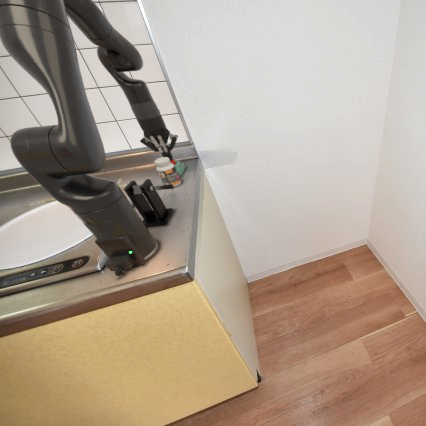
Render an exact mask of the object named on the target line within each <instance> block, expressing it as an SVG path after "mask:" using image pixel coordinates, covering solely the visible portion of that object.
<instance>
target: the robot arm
mask: <svg viewBox="0 0 426 426" xmlns="http://www.w3.org/2000/svg"><path fill="white" fill-rule="evenodd" d="M69 20H70V21H71V22H72V23H73V24H74V25H75V26H76V28H78V30H79V31H80V32H81V33H82V34H83V35H84V36H85V37H86V39H87V40H88V41H89V42H90V43H92V44H93V45H95V46H97V48H96V55H97V58H98V60H99V62H100V63H101V65H102V66H103V67H104V69H105V71H107V72H108V74H110V76H111V77H112V78H113V80H115V82H116V83H117V84H118V86H119V87H120V89H121V90H122V92H123V94H124V95H125V98H126V100H127V101H128V104H129V105H130V109H131V111H132V113H133V115H134V117H135V119H136V121H137V124H138V125H139V127H140V129H141V130H142V132H143V137H142V138H141V139H140V140H139V142H140V143H141V144H142V145H144V146H146V147H147V148H148V149H150V150H151V151H153V152H155V153H160V154H161V157H168V158H169V159H170V161H172V159H174V156H173V154H172V152H171V151H173V149H174V148H175V146H176V143H177V140H178V138H179V135H177V134H173V133H171V130H169V129H168V127H167V125H166V123H165V120H164V118H163V116H162V113H161V111H160V109H159V107H158V105H157V103H156V102H155V100H154V98H153V95H152V93H151V91H150V89H149V87H148V84H147V83H146V82H145V81H144V80H142V79H137V78H132V77H129V76H128V75H127V74H126V73H128V72H129V73H130V72H138V71H141V70H142V69H143V67H144V59H143V57H142V54H141V52H140V51H139V50H138V49H137V48H136V46H135V45H134V44H133V43H132V42H130V41H129V40H128V39H127V38H126V37H125V36H124V35H122V33H120V32H119V31H118V30H117V29H116V28H115V27H114V26H113V25H112V24H111V22H110V21H109V20H108V18H107V17H106V16H105V14H104V13H103V11H102V10H101V9H100V8H99V6H98V5H97V4H96V3H95V1H93V0H0V42H1V44H2V47H3V48H4V49H5V51H6V52H7V53H8V54H9V55H10V57H11V58H12V59H13V61H15V62H16V63H17V64H18V66H20V68H22V69H23V70H24V71H25V72H26V73H27V74H28V75H29V76H30V77H31V78H32V79H33V80H35V81H36V83H38V84H39V86H41V87H42V88H43V90H44V91H45V92H46V93H47V95H48V96H49V98H50V100H51V102H52V105H53V107H54V110H55V114H56V117H57V124H52V125H50V124H49V125H41V126H30V127H24V128H20V129H18V130H17V129H16V130H15V131H14V132H13V133H12V134H11V137H10V141H9V143H10V149H11V151H12V154H13V156H14V158H15V160H17V162H18V163H19V165H20V166H21V167H22V168H23V169H24V171H26V172H27V174H28V175H30V176H31V177H32V179H34V180H35V181H36V183H38V184H39V186H41V187H42V188H43V189H44V190H45V191H46V193H48V194H49V195H50V196H51V197H52V198H53V199H54V200H55V201H57V202H58V203H60V204H62V205H64V206H65V207H67V208H69V209H70V211H72V213H73V214H74V215H75V216H76V217H77V218H78V219H79V221H80V222H81V223H82V224H83V225H84V226H85V227H86V228H87V229H88V231H89V232H90V233H91V234H92V235H93V236H94V237H95V238H96V239H95V240H94V243H95V244H96V245H97V247H98V248H99V249H100V250H101V251H102V252H103V253H104V254H105V255H106V256H107V258H108V259H107V260H106V262H105V263H104V265H105V267H107V268H108V270H109V271H110V272H114V275H115V276H116V277H121V276H123V275H124V274H125V273H124V271H123V270H131V269H132V268H133V267H135V266H142V265H145V263H146V262H147V261H148V260H150V259H151V258H152V257H153V256H154V255H155V254H156V253H157V252H158V250H159V243H158V241H157V240H156V239H155V238H154V236H153V234H152V233H151V232H150V231H149V229H148V227H146V226H145V224H144V223H143V220H142V217H140V215H139V214H138V212H137V211H136V209H135V207H133V205H132V203H131V202H130V200H129V199H128V198H127V196H126V195H125V192H124V191H123V190H122V189H121V188H120V186H119V185H118V184H117V182H115V181H114V180H112V179H108V178H104V177H103V178H102V177H98V176H94V175H91V174H94V173H99V172H100V171H102V170H103V169H104V168H105V166H106V151H105V145H104V143H103V140H102V137H101V134H100V131H99V129H98V128H99V127H98V125H97V122H96V120H95V116H94V114H93V112H92V108H91V105H90V102H89V99H88V96H87V95H88V94H87V92H86V89H85V85H84V84H85V83H84V80H83V77H82V72H81V68H80V63H79V57H78V53H77V48H76V44H75V40H74V39H75V38H74V35H73V32H72V31H73V30H72V28H71V25H70V21H69ZM169 141H170V143H169Z"/></svg>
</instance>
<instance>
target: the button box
mask: <svg viewBox="0 0 426 426" xmlns="http://www.w3.org/2000/svg"><path fill="white" fill-rule="evenodd" d="M174 160H175V159H174ZM175 162H176V164H175V165H174V166H175V168H176V170H177V172H178V175H179V177H182V175H183V174H184V172H185V170H186V166H185V163H184V162H183V163H181V161H180V160H177V159H176V160H175Z"/></svg>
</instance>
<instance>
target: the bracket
mask: <svg viewBox="0 0 426 426" xmlns="http://www.w3.org/2000/svg"><path fill="white" fill-rule="evenodd" d="M135 185H138V183H137V182H136V180H130V182H129V183H128V184H127V185H126V186H125V188H123V191H124V193H126V195H127V196H128V198H129V199H130V201H131V203H132V204H133V206H134V208H136V210H137V211H138V213H139V214H140V216H141V218H142V219H143V220H142V221H143V223H144V224H145V226H146V227H147V228H152V227H161V226H162V227H163V226H167V225H168V223H169V221H170V219H171V217H172V215H173V213H174V212H175V210H174V208H173V207H169V208H167V207H166V205H165V203H164V202H163V200H162V198H161V196H160V195H159V193H158V190H156V189H155V185H154V184H153V182H152V180H151V179H150V178H147V179H145V180H144V181H143V182H142V184H140V185H141V187H140V189H141V191H142V193H143V194H134V192H133V188H132V186H135Z"/></svg>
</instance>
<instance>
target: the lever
mask: <svg viewBox="0 0 426 426" xmlns="http://www.w3.org/2000/svg"><path fill="white" fill-rule="evenodd" d="M141 185H142V184H137V185H135V186H132V188H133V192H134V194H143V193H142V191H141V189H140V187H141ZM154 187H155V189H156V191H163V190H172V189H174V188H175V187H174V186H173V184H171V185H164V184H163V185H156V186H155V185H154ZM143 195H144V194H143Z"/></svg>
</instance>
